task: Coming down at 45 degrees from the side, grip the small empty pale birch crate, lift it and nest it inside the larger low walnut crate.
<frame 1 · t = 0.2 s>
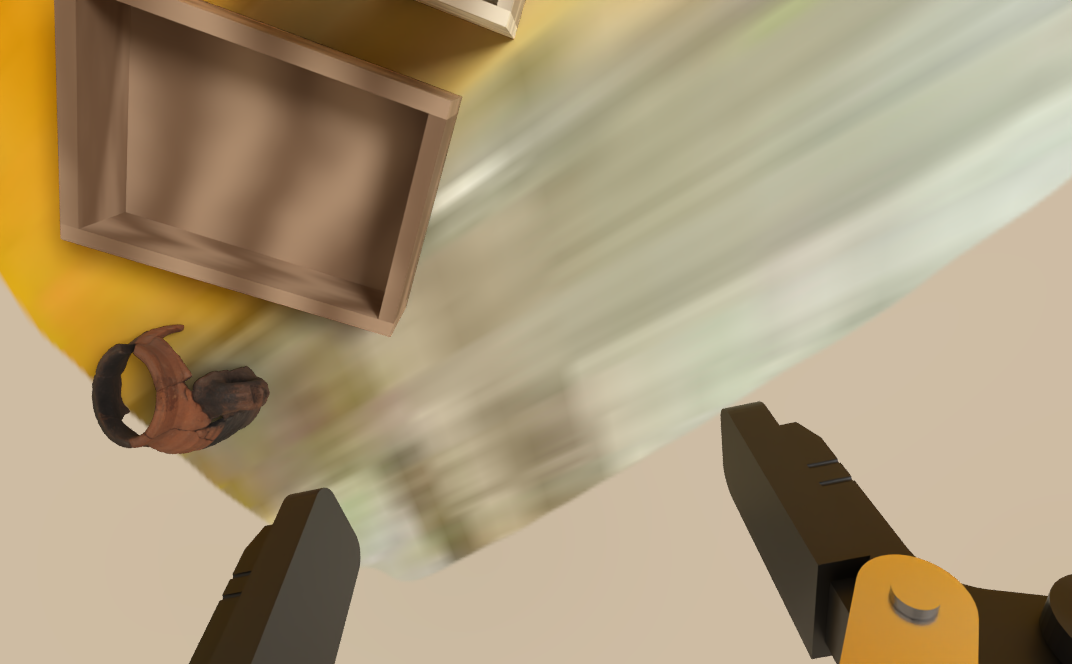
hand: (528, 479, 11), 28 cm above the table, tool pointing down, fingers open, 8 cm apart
walnut crate: (282, 160, 36), on the table
pottery mug: (217, 372, 43), on the table
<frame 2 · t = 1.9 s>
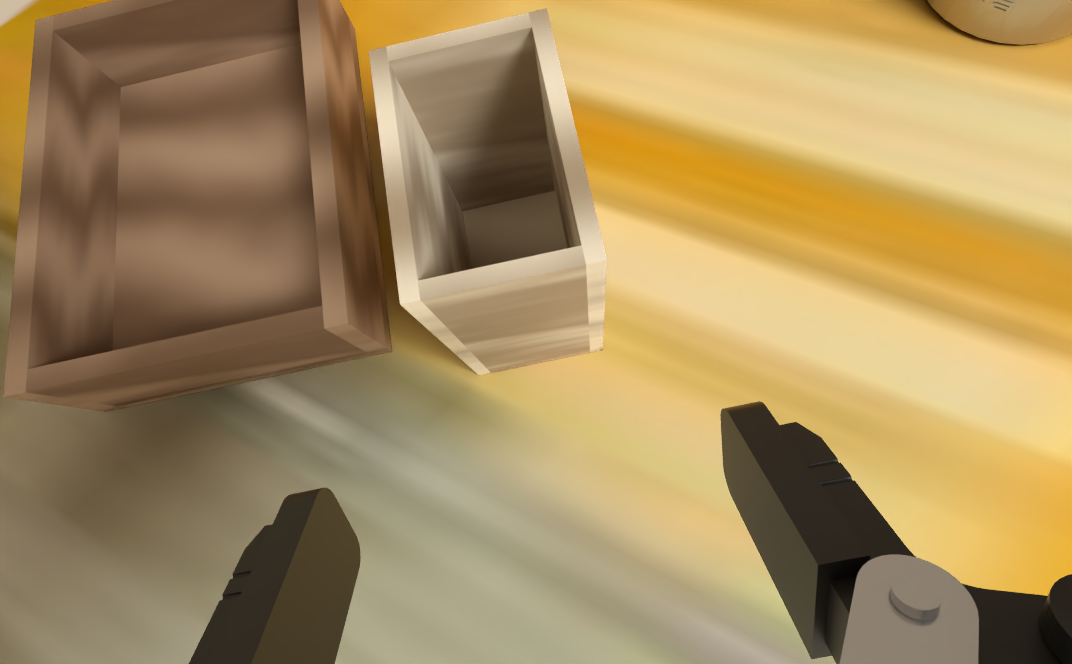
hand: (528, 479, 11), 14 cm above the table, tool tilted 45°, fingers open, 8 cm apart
birch crate: (523, 275, 27), on the table
walnut crate: (240, 205, 30), on the table
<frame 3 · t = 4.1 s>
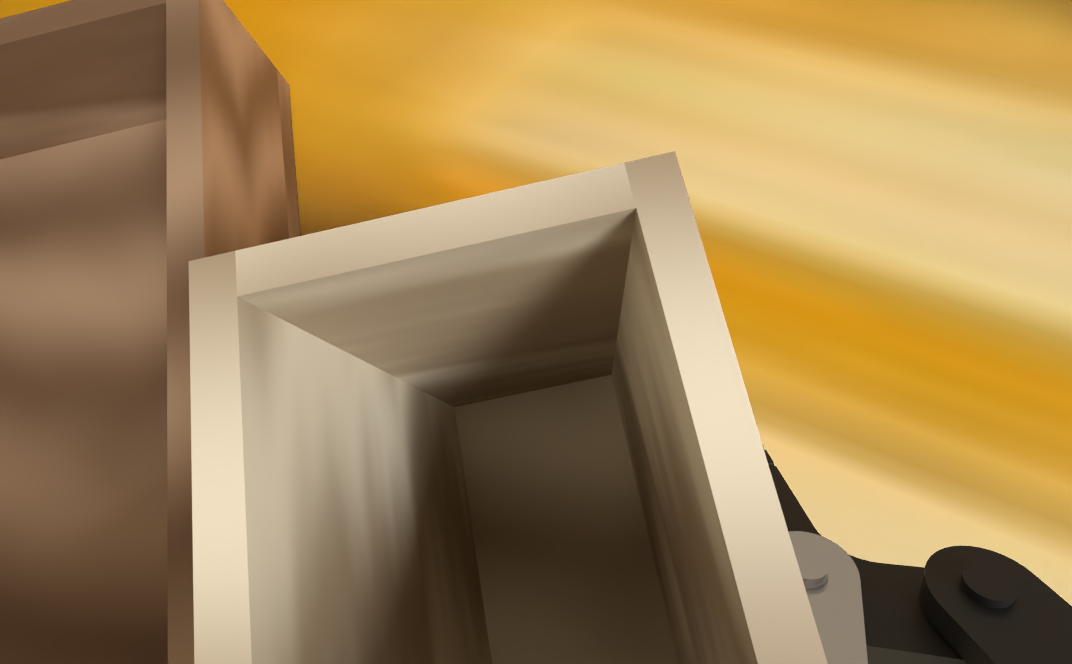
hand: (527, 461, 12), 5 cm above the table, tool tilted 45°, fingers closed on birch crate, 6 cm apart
birch crate: (559, 525, 16), on the table, touching gripper
walnut crate: (97, 376, 19), on the table
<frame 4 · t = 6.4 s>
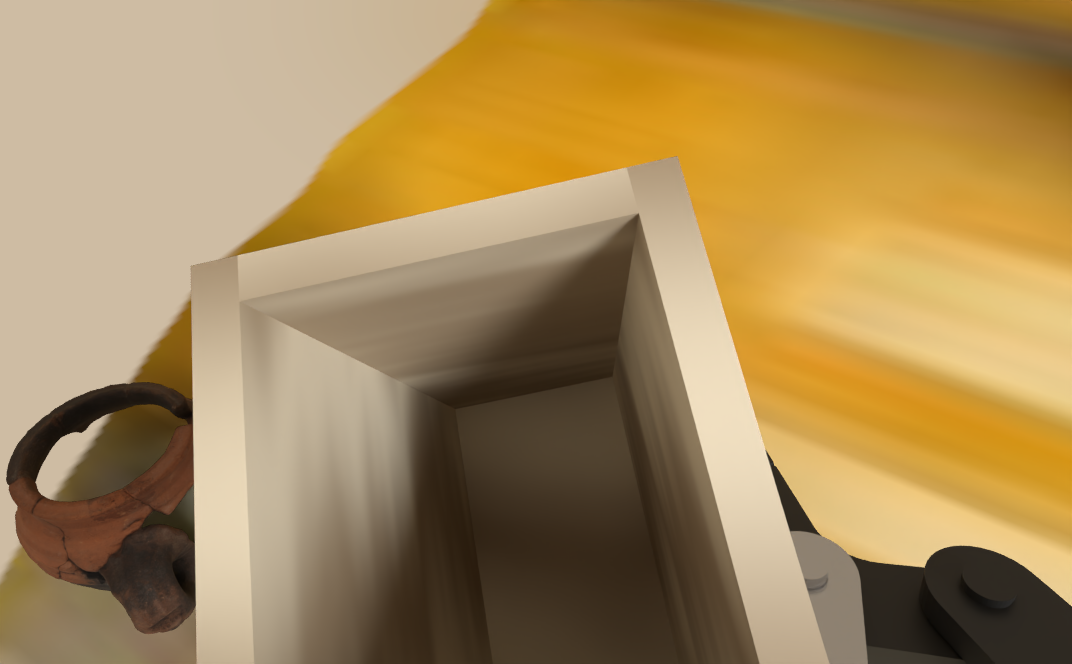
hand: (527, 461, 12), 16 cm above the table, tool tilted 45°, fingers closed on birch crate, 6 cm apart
birch crate: (560, 527, 16), point 12 cm above the table, touching gripper
pottery mug: (185, 508, 29), on the table
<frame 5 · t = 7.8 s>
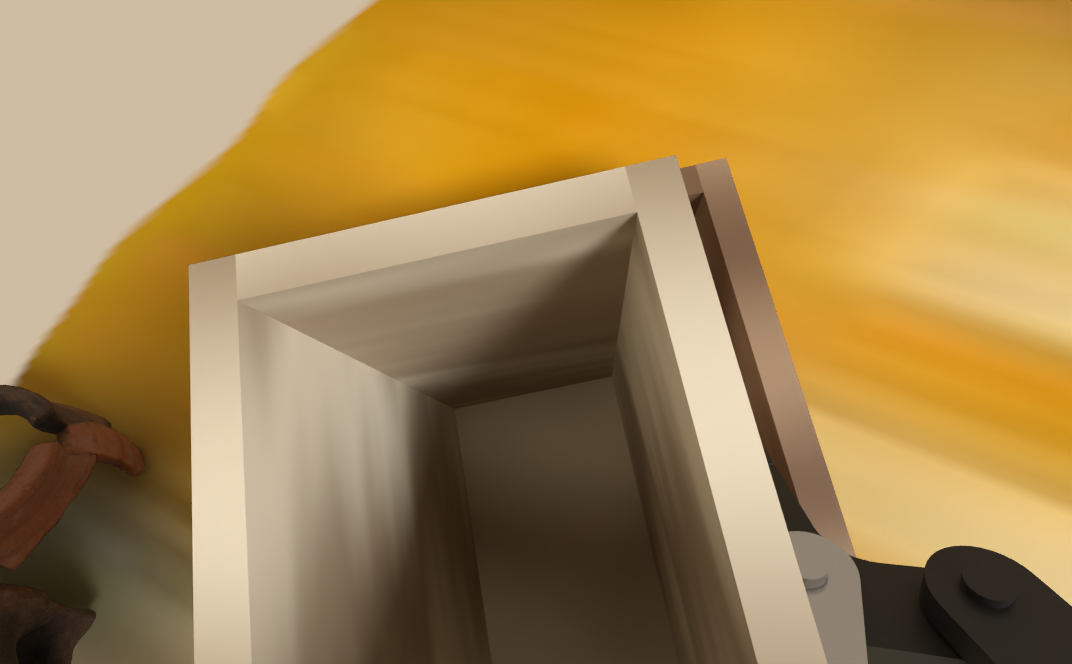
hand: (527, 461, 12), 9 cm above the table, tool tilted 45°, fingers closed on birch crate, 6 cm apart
birch crate: (559, 527, 16), point 5 cm above the table, touching gripper
walnut crate: (569, 511, 20), on the table
pottery mug: (70, 551, 22), on the table
when the fingers open (7 cm above the table, at t = 8.8 s): birch crate drops 1 cm, resting on walnut crate.
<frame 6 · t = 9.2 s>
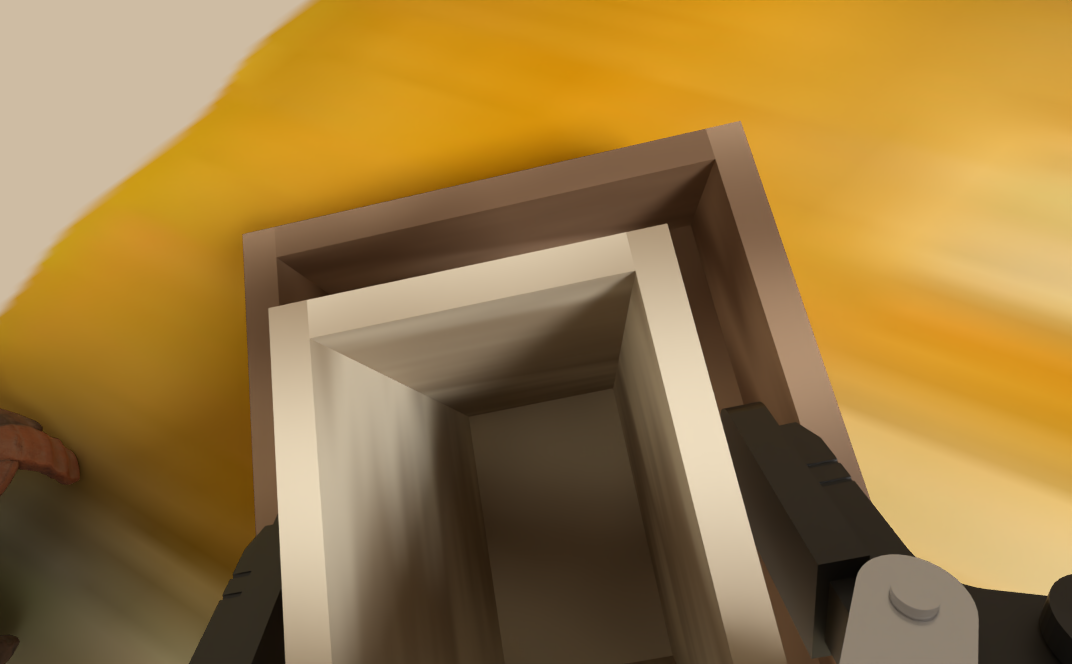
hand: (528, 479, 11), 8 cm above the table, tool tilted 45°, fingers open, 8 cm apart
birch crate: (564, 526, 17), point 1 cm above the table, touching walnut crate
walnut crate: (563, 520, 18), on the table
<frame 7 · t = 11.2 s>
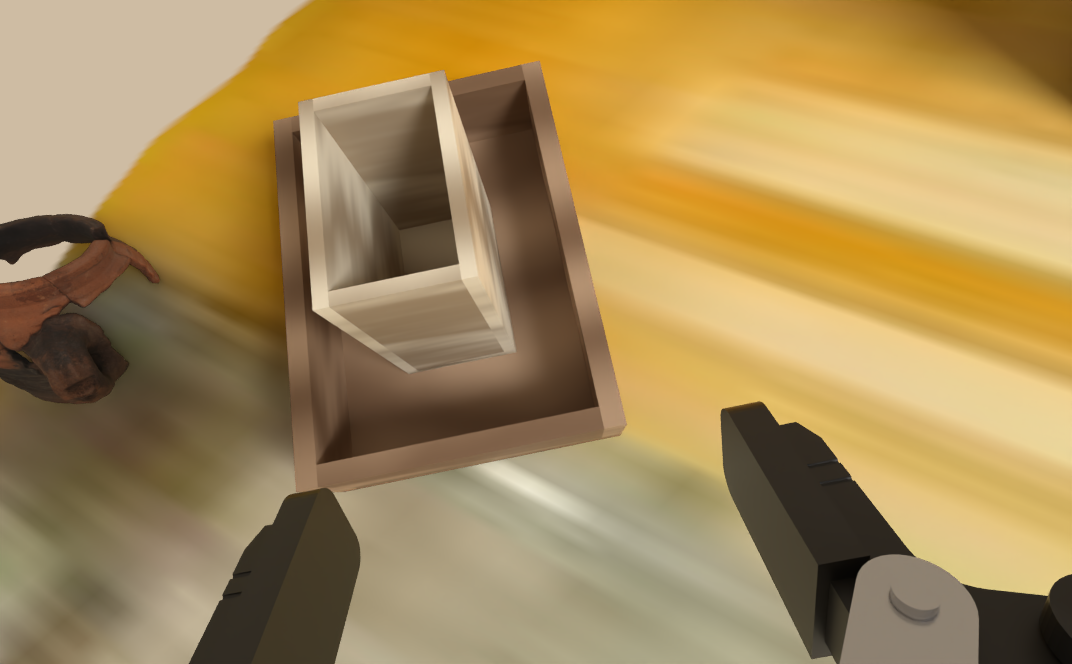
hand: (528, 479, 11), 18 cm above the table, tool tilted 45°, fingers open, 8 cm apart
birch crate: (451, 287, 31), point 1 cm above the table, touching walnut crate
walnut crate: (453, 290, 32), on the table
pottery mug: (108, 336, 33), on the table
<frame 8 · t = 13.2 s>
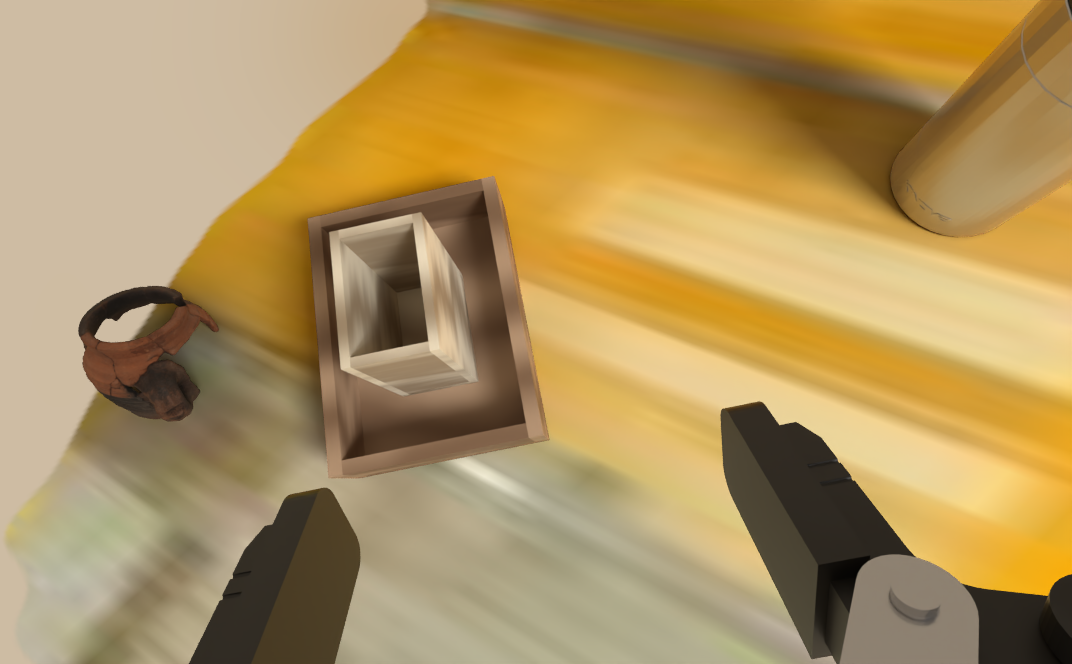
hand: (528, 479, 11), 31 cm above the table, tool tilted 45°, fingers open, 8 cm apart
birch crate: (433, 334, 44), point 1 cm above the table, touching walnut crate
walnut crate: (435, 335, 45), on the table
pottery mug: (183, 370, 47), on the table
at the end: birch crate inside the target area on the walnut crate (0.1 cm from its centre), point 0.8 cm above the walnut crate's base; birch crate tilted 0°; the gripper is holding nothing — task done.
